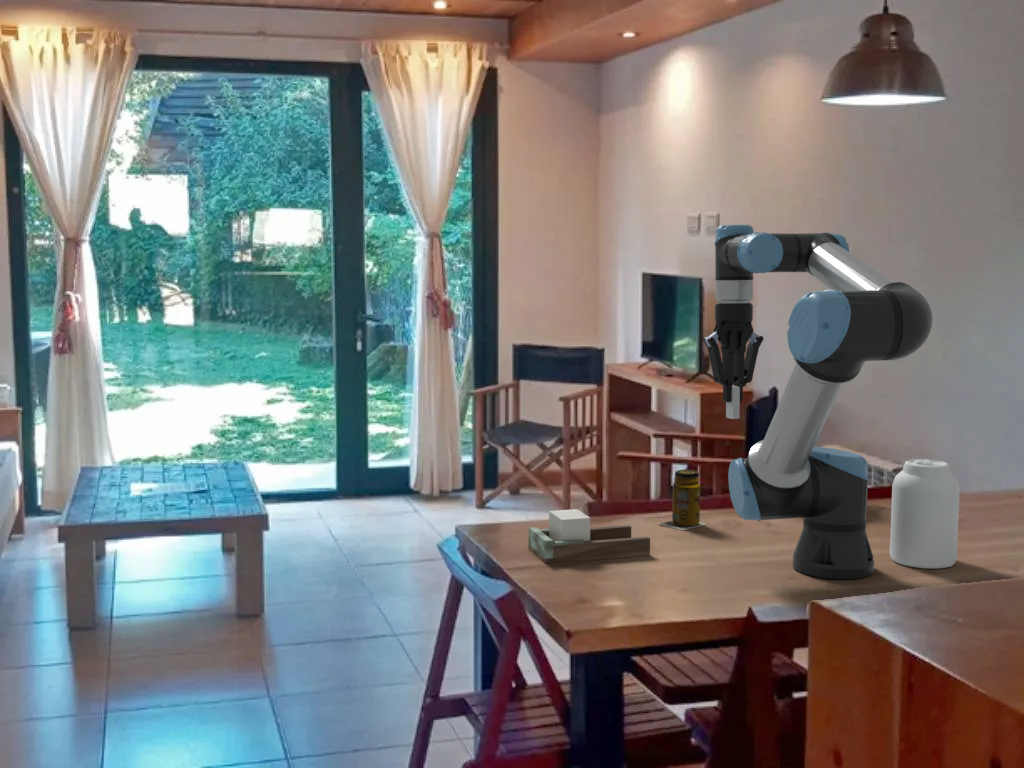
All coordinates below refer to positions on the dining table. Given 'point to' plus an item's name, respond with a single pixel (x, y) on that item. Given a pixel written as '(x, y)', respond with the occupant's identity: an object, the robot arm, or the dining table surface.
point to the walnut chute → (588, 545)
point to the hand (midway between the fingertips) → (732, 417)
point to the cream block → (569, 525)
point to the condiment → (685, 501)
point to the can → (924, 515)
